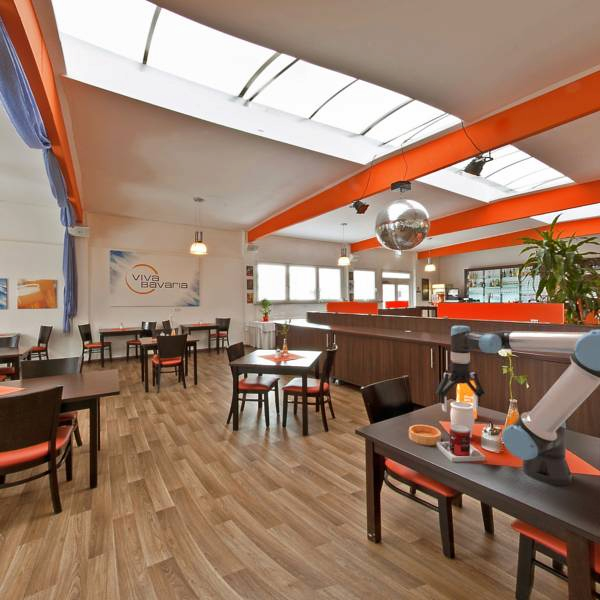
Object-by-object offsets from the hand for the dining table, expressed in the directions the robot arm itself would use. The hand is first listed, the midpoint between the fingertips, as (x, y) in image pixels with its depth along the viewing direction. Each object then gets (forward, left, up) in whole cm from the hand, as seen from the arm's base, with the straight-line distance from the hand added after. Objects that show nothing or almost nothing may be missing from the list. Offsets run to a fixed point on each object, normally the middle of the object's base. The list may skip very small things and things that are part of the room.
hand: (459, 410), depth 143 cm
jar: (+18, -11, -19) cm, 28 cm away
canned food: (0, 0, -19) cm, 19 cm away
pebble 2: (-5, -4, -18) cm, 19 cm away
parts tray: (0, 0, -19) cm, 19 cm away
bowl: (+15, +9, -19) cm, 26 cm away
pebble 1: (+4, +5, -18) cm, 19 cm away
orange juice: (+43, -27, -19) cm, 54 cm away
